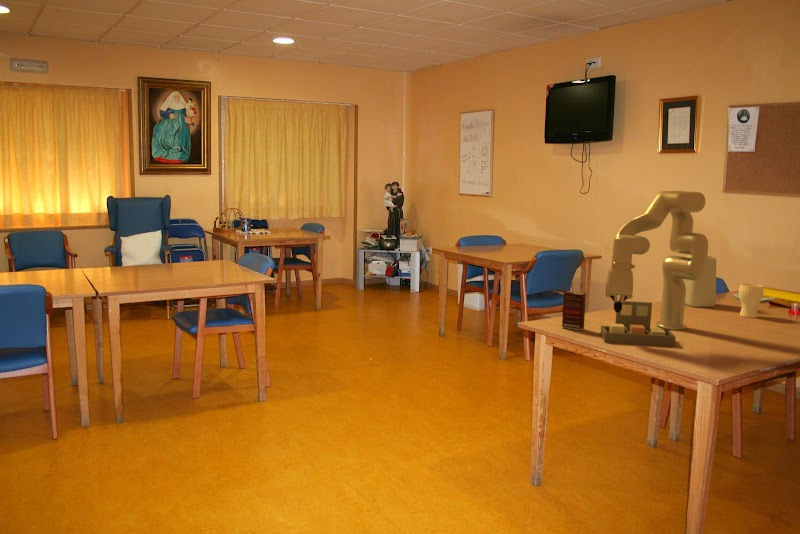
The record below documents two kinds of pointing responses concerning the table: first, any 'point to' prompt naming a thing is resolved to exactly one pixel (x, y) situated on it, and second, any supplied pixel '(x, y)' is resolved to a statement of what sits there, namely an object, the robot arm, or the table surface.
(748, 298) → the cup
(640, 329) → the terracotta key
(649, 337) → the key pad frame
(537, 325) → the table surface
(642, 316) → the card
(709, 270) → the beige rounded canister
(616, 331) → the tan square block
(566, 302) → the supplement box
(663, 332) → the olive square block
